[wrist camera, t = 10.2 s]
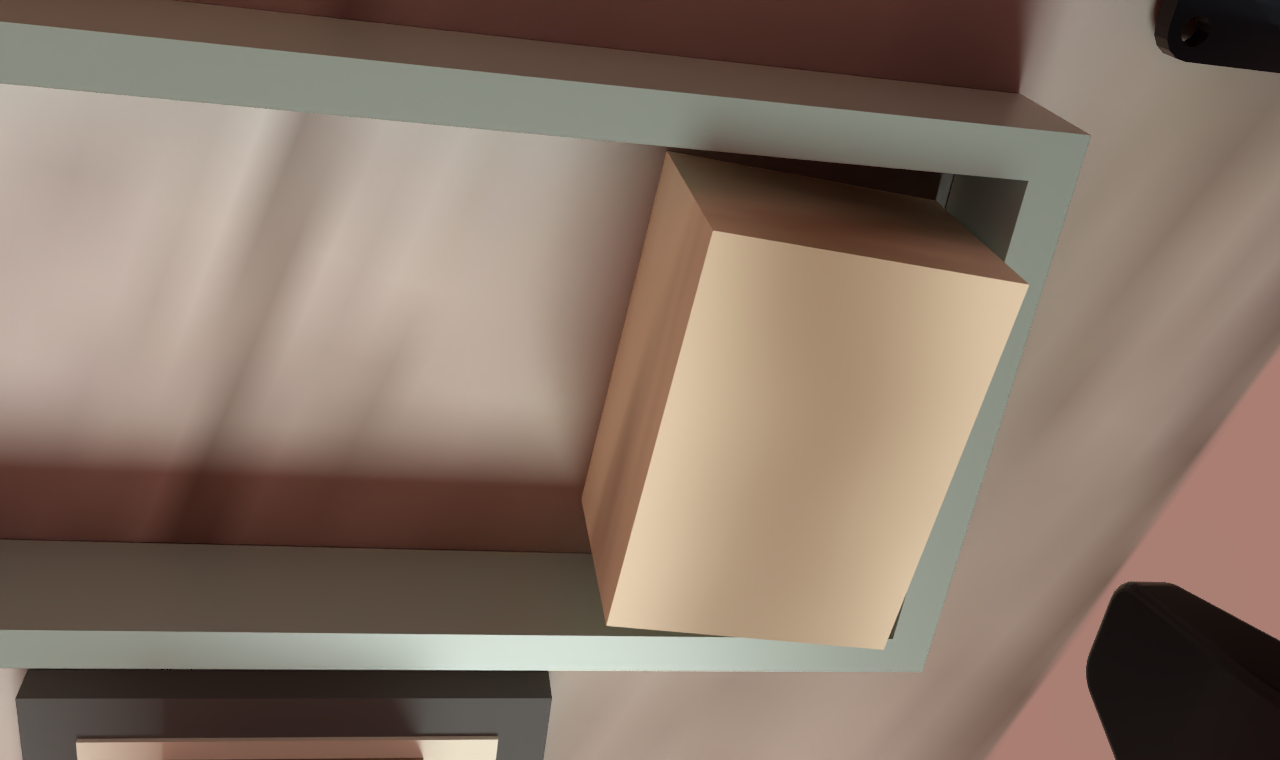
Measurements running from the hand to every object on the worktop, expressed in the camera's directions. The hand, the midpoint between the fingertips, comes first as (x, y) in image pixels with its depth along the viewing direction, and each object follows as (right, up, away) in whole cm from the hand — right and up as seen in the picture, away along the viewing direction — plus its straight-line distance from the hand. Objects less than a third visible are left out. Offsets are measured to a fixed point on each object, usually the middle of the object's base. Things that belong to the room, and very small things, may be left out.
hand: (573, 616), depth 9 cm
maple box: (+3, +2, +13) cm, 14 cm away
